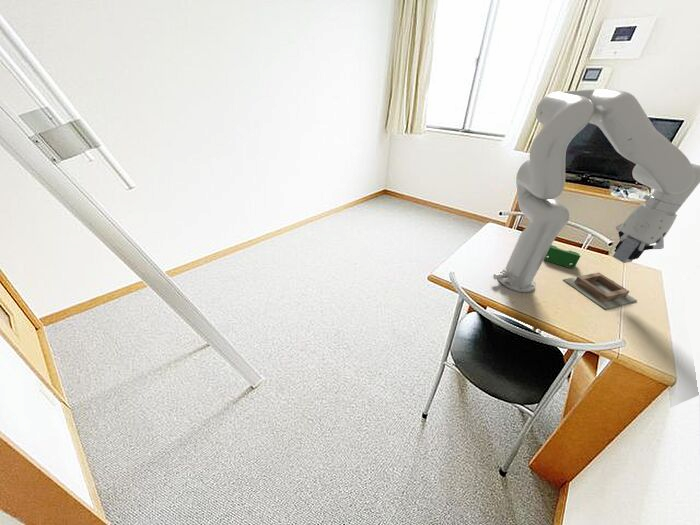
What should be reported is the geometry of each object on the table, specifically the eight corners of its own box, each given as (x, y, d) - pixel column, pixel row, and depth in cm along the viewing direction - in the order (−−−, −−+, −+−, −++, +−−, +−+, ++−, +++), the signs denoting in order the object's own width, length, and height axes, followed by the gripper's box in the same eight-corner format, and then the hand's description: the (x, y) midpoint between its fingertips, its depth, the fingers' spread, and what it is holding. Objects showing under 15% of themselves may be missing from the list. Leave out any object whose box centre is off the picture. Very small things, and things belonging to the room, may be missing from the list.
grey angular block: (624, 263, 101) (639, 242, 96) (612, 256, 104) (626, 236, 99) (634, 261, 102) (650, 241, 98) (622, 254, 105) (637, 234, 101)
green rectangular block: (562, 271, 125) (582, 256, 121) (563, 275, 120) (584, 259, 116) (538, 251, 128) (556, 236, 123) (538, 254, 123) (557, 238, 118)
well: (604, 309, 100) (609, 302, 98) (562, 280, 112) (566, 273, 110) (636, 301, 105) (641, 294, 103) (593, 274, 117) (597, 267, 115)
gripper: (626, 194, 96) (593, 243, 107) (687, 218, 84) (644, 271, 94) (640, 193, 99) (607, 241, 109) (702, 217, 86) (658, 268, 97)
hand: (624, 254), depth 102 cm, fingers closed on grey angular block, 4 cm apart
